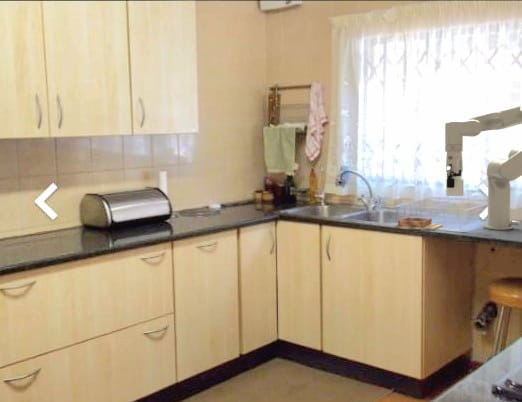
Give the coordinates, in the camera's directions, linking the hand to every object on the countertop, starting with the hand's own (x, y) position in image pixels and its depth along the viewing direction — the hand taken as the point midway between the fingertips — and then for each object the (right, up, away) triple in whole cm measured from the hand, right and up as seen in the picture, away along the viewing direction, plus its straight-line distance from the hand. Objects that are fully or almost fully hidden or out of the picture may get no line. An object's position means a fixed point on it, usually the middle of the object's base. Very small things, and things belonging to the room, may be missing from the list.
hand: (453, 186), depth 293 cm
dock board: (-13, -19, +11) cm, 26 cm away
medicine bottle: (0, -4, 0) cm, 4 cm away
